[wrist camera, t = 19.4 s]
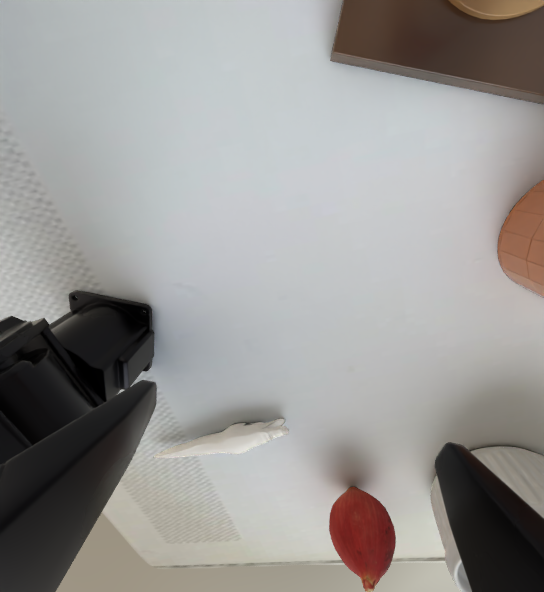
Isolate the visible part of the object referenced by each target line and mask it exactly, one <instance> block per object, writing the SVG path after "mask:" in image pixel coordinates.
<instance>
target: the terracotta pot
mask: <svg viewBox="0 0 544 592" xmlns="http://www.w3.org/2000/svg"><path fill="white" fill-rule="evenodd" d="M498 259H499V262H500V265H501V267H502V269H503V271H504V272H505V274H506V275H507V276H508V277H509V278H510V279H511V280H512V281H513V282H515V283H517V284H518V285H520V286H522V287H523V288H525V289H527V290H529V291H531V292H533V293H535V294H537V295H539V296H540V297H542V298H544V180H543V181H541V182H540V183H538V184H537V185H536V186H534V187H533V188H532V189H530V190H529V191H528V192H527V193H526V194H525V195H524V196H523V197H522V198H521V199H520V200H519V201H518V202H517V204H516V205H515V206H514V208H513V209H512V210H511V212H510V213H509V215H508V217H507V218H506V220H505V222H504V224H503V227H502V229H501V232H500V235H499V240H498Z"/></svg>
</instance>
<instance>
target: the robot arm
mask: <svg viewBox="0 0 544 592" xmlns="http://www.w3.org/2000/svg"><path fill="white" fill-rule="evenodd" d="M76 296H77V297H78V298H77V297H76ZM69 302H70V309H71V312H69V313H68V314H66V315H64V316H63V317H61V318H59V319H58V320H56V321H55V322H53V323H51V324H50V325H49V324H48V322H47V321H46V320H45V318H42V319H39V320H36V321H33V322H31V321H30V322H27V321H26V320H25V321H23V320H21V319H18V318H16V317H13V316H10V317H7V318H4V319H2V320H0V592H55V591H56V590H57V588H58V586H59V585H60V583H61V581H62V580H63V578H64V576H65V574H66V573H67V571H68V569H69V568H70V566H71V564H72V562H73V561H74V559H75V557H76V555H77V554H78V552H79V550H80V548H81V547H82V545H83V543H84V542H85V540H86V538H87V536H88V535H89V533H90V531H91V530H92V528H93V526H94V524H95V523H96V521H97V518H98V517H99V516H100V514H101V512H102V511H103V509H104V507H105V505H106V504H107V502H108V500H109V498H110V497H111V495H112V493H113V491H114V490H115V488H116V486H117V485H118V483H119V481H120V479H121V478H122V476H123V474H124V472H125V471H126V469H127V467H128V465H129V464H130V462H131V460H132V458H133V456H134V454H135V451H136V449H137V447H138V445H139V443H140V440H141V438H142V436H143V434H144V432H145V429H146V427H147V425H148V423H149V421H150V418H151V416H152V414H153V412H154V409H155V406H156V392H157V386H156V383H155V382H152V381H147V380H142V381H139V382H138V383H136V384H134V385H133V386H131V385H132V384H133V382H134V381H135V380H136V379H137V377H138V376H139V375H140V373H141V372H142V371H148V370H149V369H150V368H151V366H152V358H153V357H154V332H153V330H152V309H151V307H150V306H149V305H146V304H142V303H137V302H132V301H127V300H122V299H117V298H113V297H108V296H103V295H98V294H93V293H88V292H83V291H78V290H76V291H73V292H71V293H70V294H69ZM143 309H144V310H145V311H146V312H144V311H143ZM130 386H131V387H130ZM121 389H124V391H123V392H121V393H119V391H120V390H121ZM118 393H119V394H118ZM117 394H118V395H117ZM435 469H436V473H437V477H438V481H439V485H440V489H441V493H442V498H443V502H444V506H445V510H446V514H447V517H448V521H449V525H450V528H451V531H452V534H453V537H454V540H455V543H456V546H457V549H458V552H459V555H460V558H461V561H462V564H463V567H464V570H465V573H466V576H467V578H468V581H469V584H470V587H471V590H472V592H544V518H543V517H542V516H541V515H540V514H539V513H537V512H536V511H535V510H534V509H533V508H532V507H531V506H530V505H529V504H527V503H526V502H525V501H524V500H523V499H522V498H521V497H520V496H519V495H517V494H516V493H515V492H514V491H513V490H512V489H511V488H510V487H509V486H508V485H506V484H505V483H504V482H503V481H502V480H501V479H500V478H499V477H498V476H496V475H495V474H494V473H493V472H492V471H491V470H490V469H489V468H488V467H487V466H485V465H484V464H483V463H482V462H481V461H480V460H479V459H478V458H477V457H475V456H474V455H473V454H472V453H471V452H470V451H469V450H468V449H467V448H465V447H464V446H463V445H460V444H456V443H451V442H448V443H446V444H445V445H444V447H443V448H442V450H441V451H440V453H439V454H438V456H437V457H436V460H435Z"/></svg>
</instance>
